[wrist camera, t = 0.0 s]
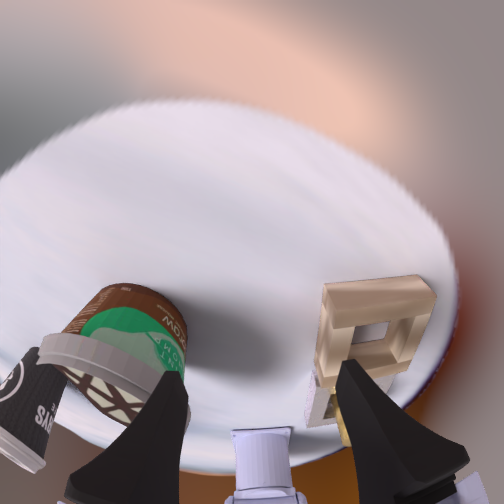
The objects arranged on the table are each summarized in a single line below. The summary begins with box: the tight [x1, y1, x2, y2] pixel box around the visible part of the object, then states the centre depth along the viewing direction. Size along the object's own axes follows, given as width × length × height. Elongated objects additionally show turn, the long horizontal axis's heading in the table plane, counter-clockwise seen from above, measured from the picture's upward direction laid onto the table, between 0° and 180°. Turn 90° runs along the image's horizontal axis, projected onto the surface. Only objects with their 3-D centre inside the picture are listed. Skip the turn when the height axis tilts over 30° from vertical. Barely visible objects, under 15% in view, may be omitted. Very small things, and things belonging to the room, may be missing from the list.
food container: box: [36, 283, 191, 435], centre depth 17 cm, size 12×6×10 cm, turn 28°
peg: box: [330, 393, 351, 446], centre depth 24 cm, size 4×4×7 cm
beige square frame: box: [314, 275, 437, 389], centre depth 21 cm, size 9×9×4 cm
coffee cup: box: [0, 347, 68, 474], centre depth 19 cm, size 10×10×15 cm
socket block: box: [304, 370, 396, 428], centre depth 26 cm, size 9×9×2 cm
